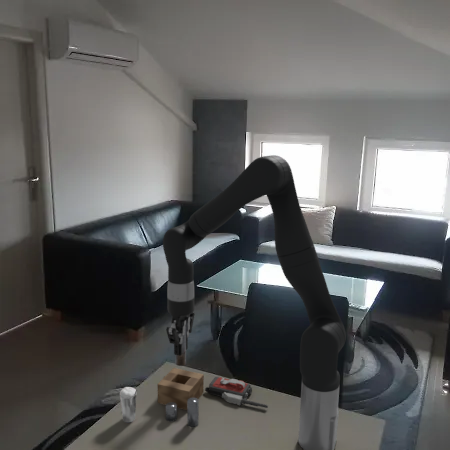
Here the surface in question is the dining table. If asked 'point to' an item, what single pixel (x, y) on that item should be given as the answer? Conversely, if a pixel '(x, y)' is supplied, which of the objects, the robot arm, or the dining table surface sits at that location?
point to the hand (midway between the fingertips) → (181, 351)
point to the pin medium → (192, 412)
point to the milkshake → (128, 403)
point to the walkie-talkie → (232, 391)
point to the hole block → (180, 387)
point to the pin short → (171, 411)
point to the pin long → (182, 359)
